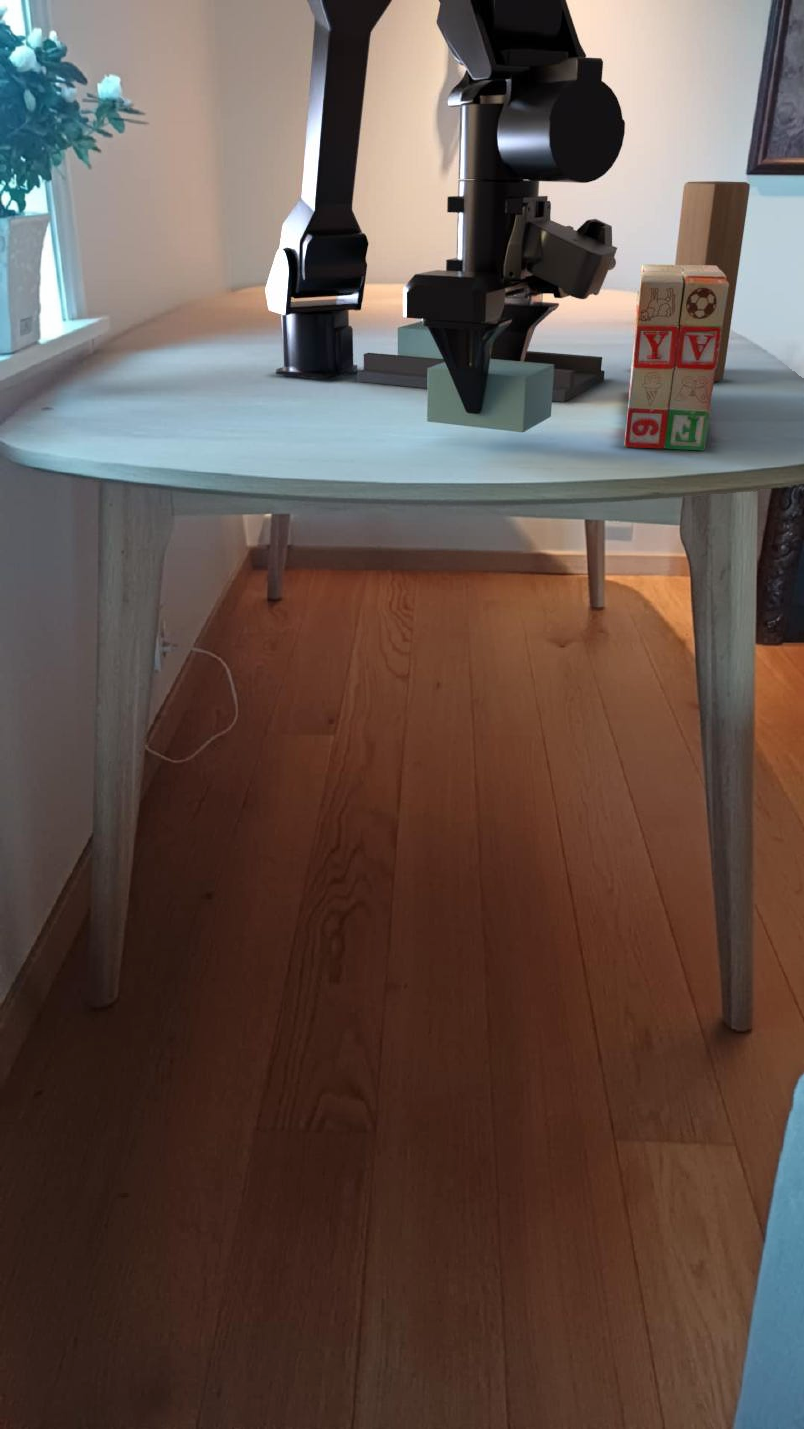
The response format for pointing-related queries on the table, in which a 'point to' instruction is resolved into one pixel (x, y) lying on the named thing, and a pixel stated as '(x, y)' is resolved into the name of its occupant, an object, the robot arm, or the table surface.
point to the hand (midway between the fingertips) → (489, 405)
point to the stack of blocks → (675, 355)
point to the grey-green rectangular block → (495, 396)
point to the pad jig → (423, 353)
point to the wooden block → (714, 238)
